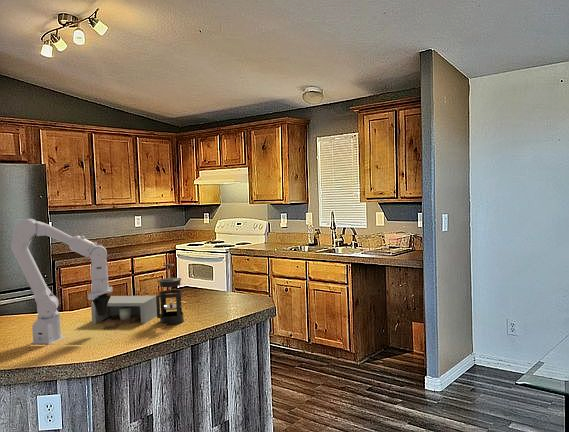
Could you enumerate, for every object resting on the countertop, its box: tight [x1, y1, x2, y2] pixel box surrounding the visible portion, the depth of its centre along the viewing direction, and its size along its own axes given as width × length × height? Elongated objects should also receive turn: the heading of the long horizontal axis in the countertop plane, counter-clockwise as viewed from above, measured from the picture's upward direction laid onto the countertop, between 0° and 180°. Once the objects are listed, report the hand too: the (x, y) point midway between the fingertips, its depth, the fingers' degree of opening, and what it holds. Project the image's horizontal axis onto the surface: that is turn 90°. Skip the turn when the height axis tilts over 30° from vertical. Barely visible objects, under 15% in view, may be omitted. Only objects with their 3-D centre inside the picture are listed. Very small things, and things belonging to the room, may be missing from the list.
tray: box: [103, 315, 141, 330], centre depth 204 cm, size 17×11×2 cm, turn 171°
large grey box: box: [90, 295, 157, 325], centre depth 209 cm, size 13×22×9 cm, turn 81°
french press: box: [155, 263, 185, 326], centre depth 203 cm, size 12×9×23 cm
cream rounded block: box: [119, 307, 131, 320], centre depth 209 cm, size 4×4×4 cm
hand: (101, 315), depth 191 cm, fingers closed
